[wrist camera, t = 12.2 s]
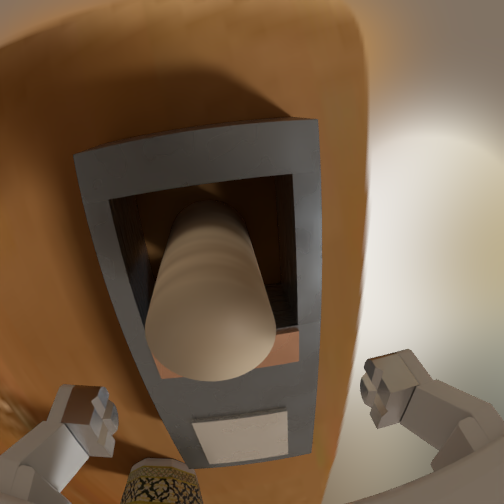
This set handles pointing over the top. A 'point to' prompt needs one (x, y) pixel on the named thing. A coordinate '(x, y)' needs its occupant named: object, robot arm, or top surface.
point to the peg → (209, 298)
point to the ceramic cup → (161, 483)
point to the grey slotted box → (280, 294)
